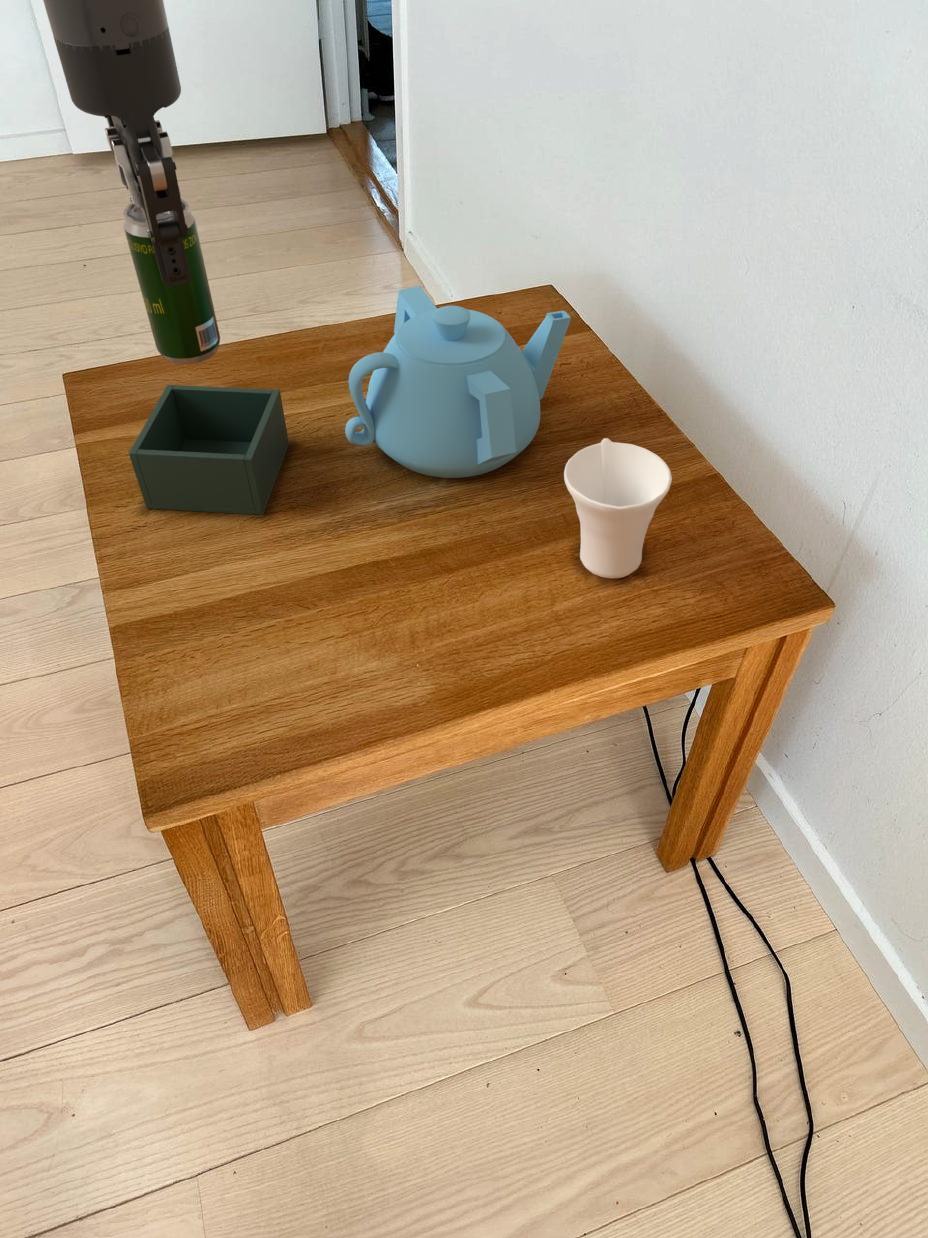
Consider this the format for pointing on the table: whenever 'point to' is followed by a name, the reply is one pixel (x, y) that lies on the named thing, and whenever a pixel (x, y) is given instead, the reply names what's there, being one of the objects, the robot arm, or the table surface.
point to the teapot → (453, 388)
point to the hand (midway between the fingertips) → (169, 266)
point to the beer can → (174, 293)
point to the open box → (211, 449)
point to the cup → (615, 503)
